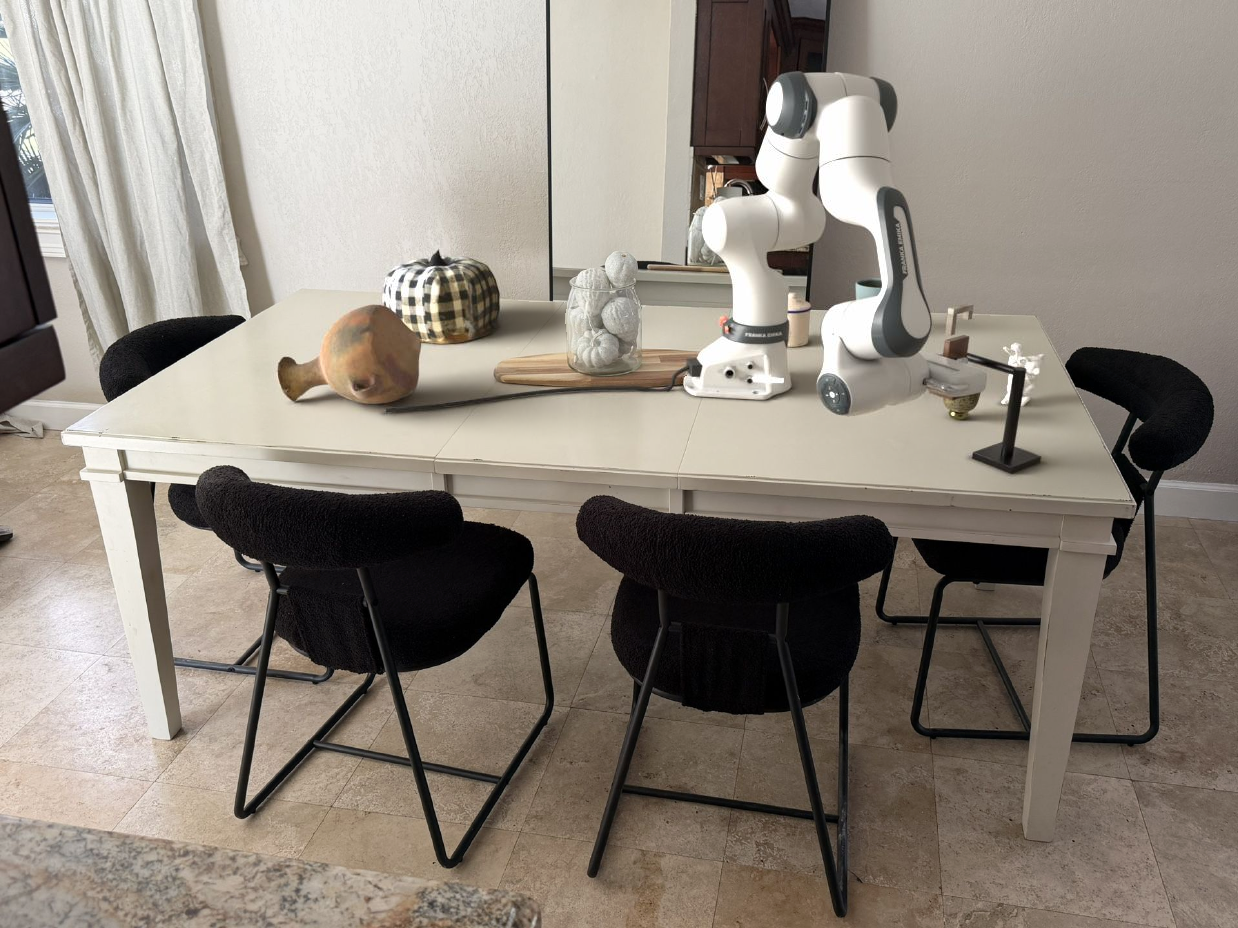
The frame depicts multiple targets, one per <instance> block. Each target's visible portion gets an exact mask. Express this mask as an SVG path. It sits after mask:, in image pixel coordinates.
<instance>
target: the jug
mask: <svg viewBox="0 0 1238 928" xmlns="http://www.w3.org/2000/svg"><path fill="white" fill-rule="evenodd" d="M421 349H422V342H421V340H420V338H419V336H418V335H417V334H416V333H415V332H413V331H412V330H411V329H410V328H409V327H408V326H407V325H405V324H404V323H403V322H402V320H401V319H400V318H399V316H398V315H397V314H396V313H395V312H394V311H392V310H391V309H390V308H388V307H386V306H383V304H368V305H364V306H360V307H359V308H356V309H353V310H351V311H349V312H348V313H346V314H344V315H343V316H342V317H340V318H339V319H338V320H337V321H336V322H334V323H333V324H332V325H331V326H330V328H329V329H328V331H327V332H326V333H325V336H324V337H323V339H322V341H321V345H320V349H319V350H320V351H319V355H318V356H317V357H316V358H314V359H313V360H310V361H308V362H304V363H300V364H299V363H297V361H296V360H295V359H294V358H292V357H290V356H282V357H281V358H280V359H279V361H278V362H277V368H276V369H277V370H276V378H277V381H278V384H279V387H280V389H281V390H282V392H283V394H284V396H286V397H287V398H288V399H289V400H290V401H291V402H294V403H295V402H297V400H298V399H299V398H300V397H302V396H303V395H305V393H307V392H309V390H311V389H312V388H315V387H319V386H329V387H330V388H331V389H332V390H333V391H334V392H335V393H336V394H338V395H339V396H341V397H343V398H345V399H347V400H349V401H352V402H357V403H360V404H369V405H370V404H371V405H379V404H388V403H391V402H395V401H399V400H400V399H402V398H406V397H408V396H409V395H410V394H411V393H413V392H414V391H415V389H417V387H418V383H419V378H420V357H421V356H420V354H421Z"/></svg>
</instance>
